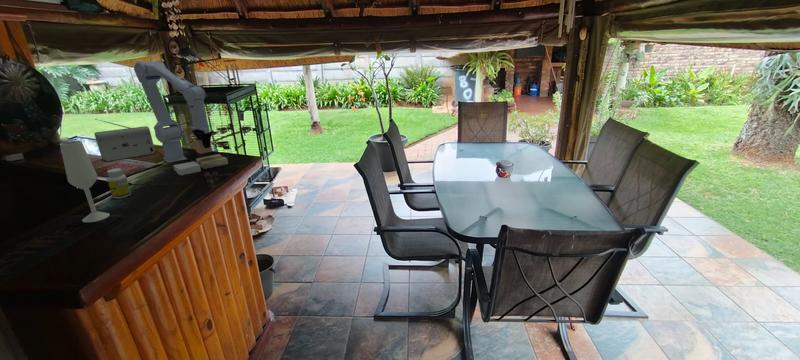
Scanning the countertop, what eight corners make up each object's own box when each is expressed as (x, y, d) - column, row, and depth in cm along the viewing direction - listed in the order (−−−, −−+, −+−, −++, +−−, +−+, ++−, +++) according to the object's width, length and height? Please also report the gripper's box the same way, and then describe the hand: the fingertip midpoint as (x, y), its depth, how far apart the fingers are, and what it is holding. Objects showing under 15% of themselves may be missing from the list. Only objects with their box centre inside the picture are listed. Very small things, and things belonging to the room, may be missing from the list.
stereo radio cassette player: (154, 150, 180) (144, 111, 173) (157, 154, 175) (147, 113, 168) (102, 159, 167) (88, 117, 160) (103, 163, 162) (90, 119, 154)
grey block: (174, 171, 151) (173, 165, 150) (195, 167, 157) (193, 161, 156) (180, 176, 146) (178, 169, 145) (201, 172, 151) (199, 165, 150)
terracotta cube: (196, 151, 157) (193, 140, 155) (208, 149, 160) (205, 138, 158) (199, 153, 153) (197, 142, 152) (212, 151, 157) (209, 140, 155)
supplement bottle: (109, 197, 125) (101, 171, 122) (126, 192, 130) (118, 166, 126) (117, 200, 123) (109, 173, 119) (134, 194, 127) (127, 169, 124)
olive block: (197, 164, 161) (195, 158, 160) (219, 160, 167) (218, 154, 166) (204, 169, 154) (203, 163, 153) (228, 164, 161) (227, 158, 160)
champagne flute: (87, 224, 106) (60, 147, 97) (78, 219, 109) (51, 143, 101) (113, 215, 111) (89, 141, 103) (104, 211, 115) (80, 138, 106)
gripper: (183, 114, 154) (190, 145, 159) (194, 119, 144) (200, 151, 149) (201, 112, 159) (206, 142, 163) (212, 117, 149) (218, 148, 154)
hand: (205, 146), depth 157 cm, fingers closed on terracotta cube, 5 cm apart
